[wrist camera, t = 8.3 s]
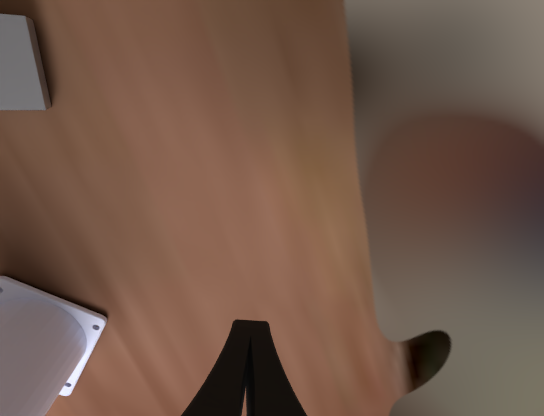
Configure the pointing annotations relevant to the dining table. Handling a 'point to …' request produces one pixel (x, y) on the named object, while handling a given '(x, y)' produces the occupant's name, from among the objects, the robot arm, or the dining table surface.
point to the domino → (21, 66)
